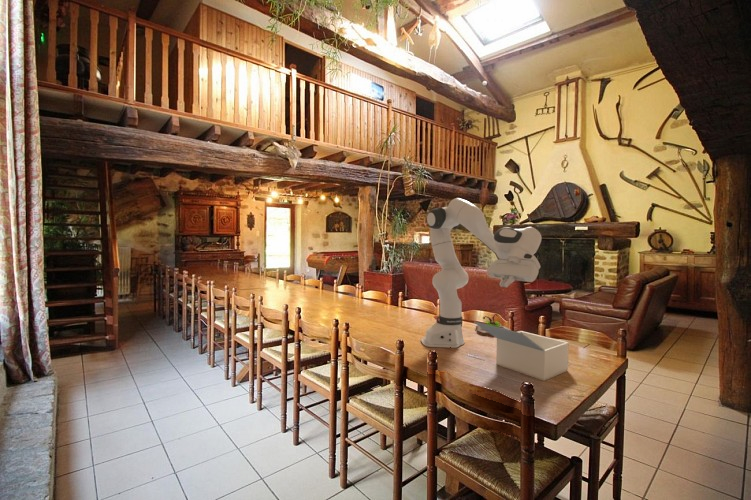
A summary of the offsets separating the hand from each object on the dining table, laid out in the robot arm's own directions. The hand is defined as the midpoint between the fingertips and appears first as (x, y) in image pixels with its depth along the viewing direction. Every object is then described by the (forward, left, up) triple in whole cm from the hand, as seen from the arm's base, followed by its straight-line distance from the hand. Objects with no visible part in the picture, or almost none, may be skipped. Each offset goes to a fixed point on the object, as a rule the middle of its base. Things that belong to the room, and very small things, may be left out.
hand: (503, 286), depth 140 cm
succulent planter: (+25, +65, -38) cm, 79 cm away
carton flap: (+3, +2, -20) cm, 21 cm away
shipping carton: (+18, +10, -37) cm, 43 cm away
